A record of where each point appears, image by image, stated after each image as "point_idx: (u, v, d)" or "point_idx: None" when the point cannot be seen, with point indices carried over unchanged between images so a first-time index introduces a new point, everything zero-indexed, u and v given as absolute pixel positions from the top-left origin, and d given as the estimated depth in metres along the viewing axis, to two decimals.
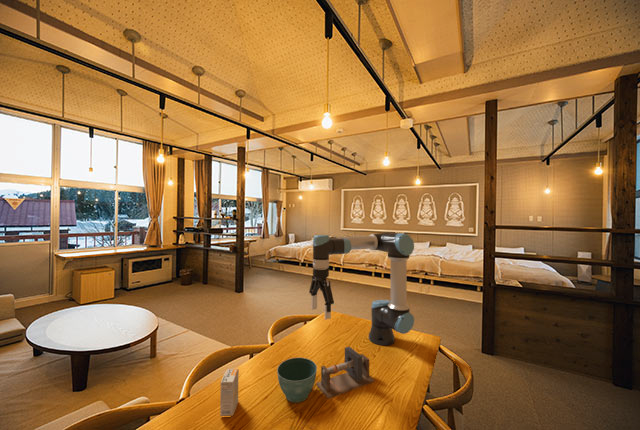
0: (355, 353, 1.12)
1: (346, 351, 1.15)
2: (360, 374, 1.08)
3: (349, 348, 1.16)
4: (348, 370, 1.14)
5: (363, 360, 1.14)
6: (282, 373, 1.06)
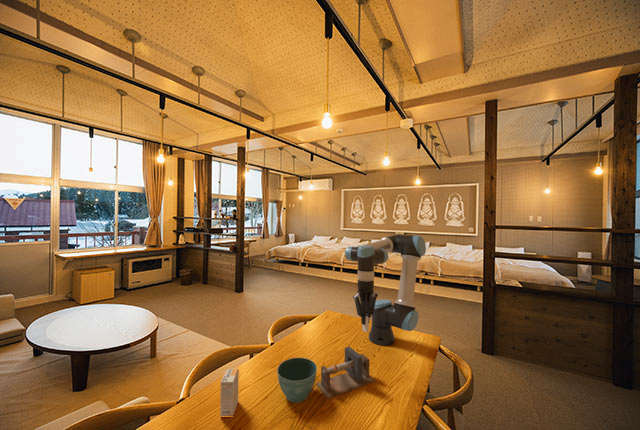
0: (355, 353, 1.12)
1: (346, 351, 1.15)
2: (360, 374, 1.08)
3: (349, 348, 1.16)
4: (348, 370, 1.14)
5: (363, 360, 1.14)
6: (282, 373, 1.06)
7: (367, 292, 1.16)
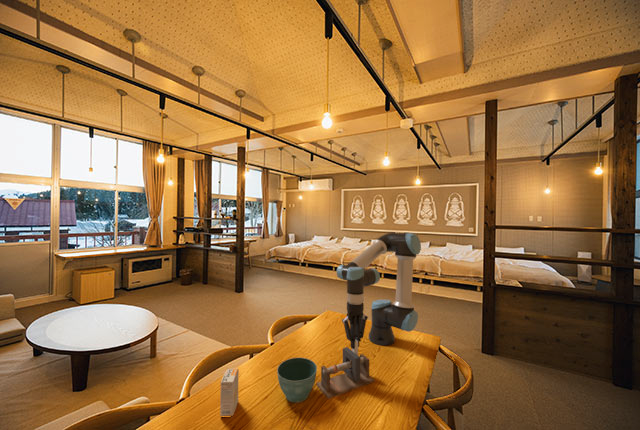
0: (353, 354, 1.11)
1: (344, 352, 1.15)
2: (358, 375, 1.08)
3: (347, 349, 1.15)
4: (346, 371, 1.13)
5: (363, 360, 1.14)
6: (282, 373, 1.06)
7: (356, 315, 1.13)
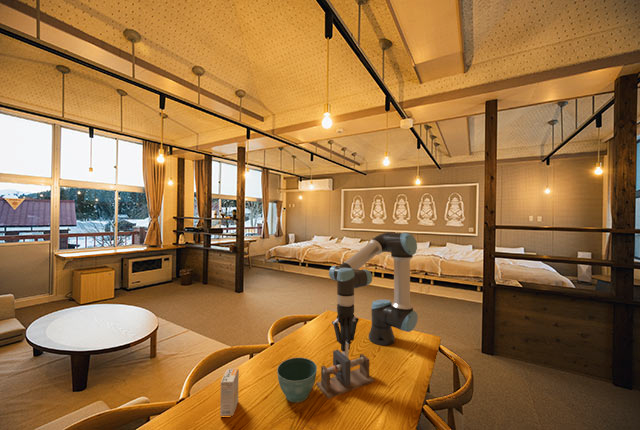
0: (343, 357, 1.09)
1: (334, 354, 1.12)
2: (348, 378, 1.05)
3: (337, 351, 1.13)
4: (336, 374, 1.11)
5: (363, 360, 1.14)
6: (282, 373, 1.06)
7: (347, 317, 1.10)
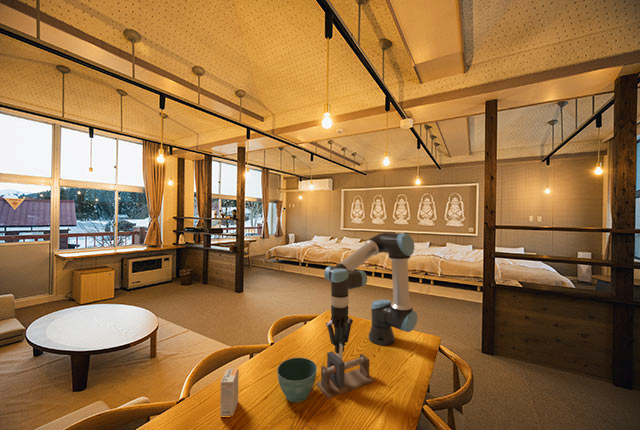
0: (337, 358, 1.07)
1: (328, 356, 1.11)
2: (342, 380, 1.04)
3: (332, 353, 1.11)
4: (330, 376, 1.09)
5: (363, 360, 1.14)
6: (282, 373, 1.06)
7: (341, 319, 1.09)
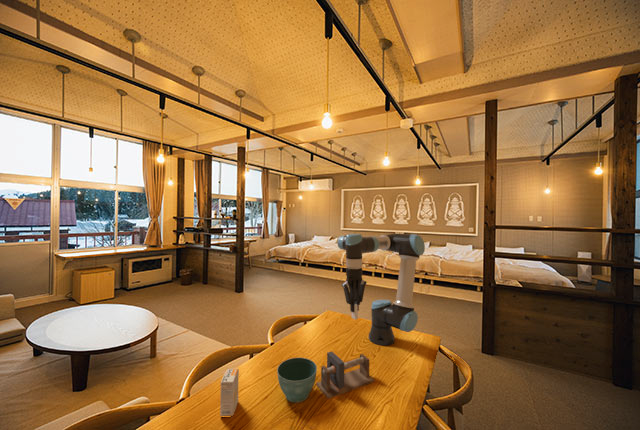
0: (337, 358, 1.07)
1: (328, 356, 1.11)
2: (342, 380, 1.04)
3: (331, 353, 1.11)
4: (330, 376, 1.09)
5: (363, 360, 1.14)
6: (282, 373, 1.06)
7: (356, 280, 1.16)
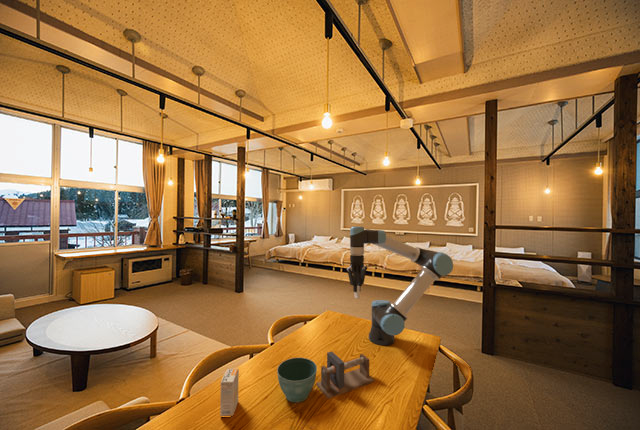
0: (337, 358, 1.07)
1: (328, 356, 1.11)
2: (342, 380, 1.04)
3: (331, 353, 1.11)
4: (330, 376, 1.09)
5: (363, 360, 1.14)
6: (282, 373, 1.06)
7: (358, 265, 1.37)
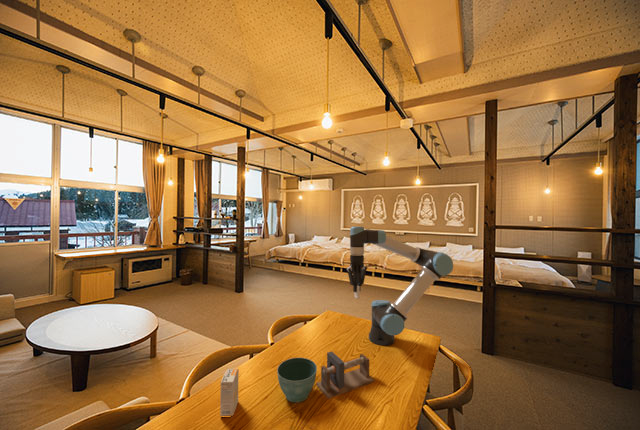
0: (337, 358, 1.07)
1: (328, 356, 1.11)
2: (342, 380, 1.04)
3: (331, 353, 1.11)
4: (330, 376, 1.09)
5: (363, 360, 1.14)
6: (282, 373, 1.06)
7: (358, 265, 1.37)
